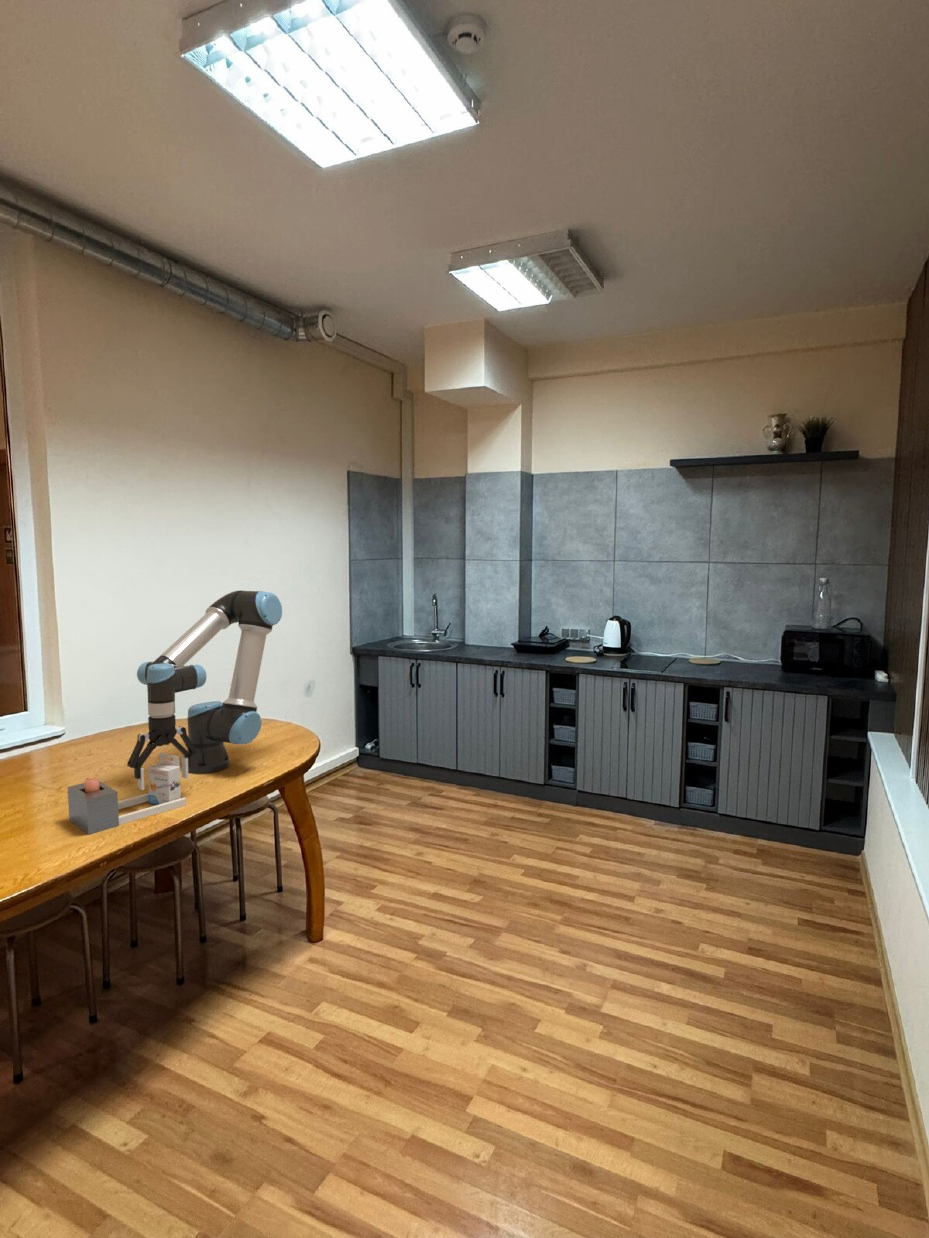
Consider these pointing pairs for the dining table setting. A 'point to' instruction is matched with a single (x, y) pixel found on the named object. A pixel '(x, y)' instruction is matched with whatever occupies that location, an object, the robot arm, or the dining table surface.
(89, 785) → the gauge plunger
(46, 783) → the dining table surface
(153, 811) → the rail track
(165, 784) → the ink box
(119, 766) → the dining table surface
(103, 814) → the grey rectangular block
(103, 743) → the dining table surface
